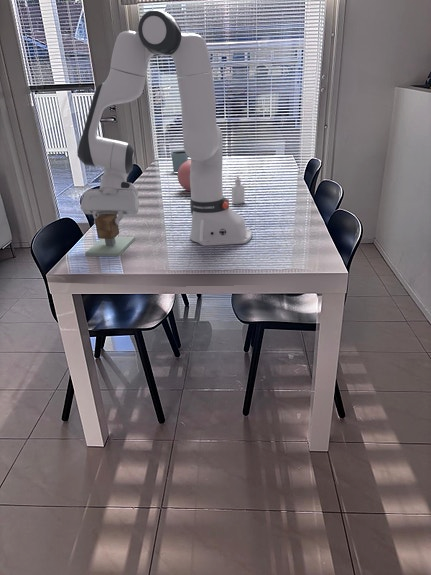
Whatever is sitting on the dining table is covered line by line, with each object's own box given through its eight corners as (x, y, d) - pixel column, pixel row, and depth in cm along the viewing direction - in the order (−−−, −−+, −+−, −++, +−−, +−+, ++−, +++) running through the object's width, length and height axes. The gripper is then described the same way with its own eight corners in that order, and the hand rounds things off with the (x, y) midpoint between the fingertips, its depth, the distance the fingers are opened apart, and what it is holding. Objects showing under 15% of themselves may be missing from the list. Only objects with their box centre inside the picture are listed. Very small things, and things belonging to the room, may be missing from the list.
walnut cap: (119, 233, 151) (116, 214, 148) (113, 238, 146) (110, 219, 143) (104, 233, 152) (101, 214, 149) (98, 238, 147) (94, 218, 144)
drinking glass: (174, 170, 267) (173, 150, 262) (190, 170, 266) (189, 150, 261) (171, 174, 258) (169, 153, 253) (187, 173, 257) (185, 153, 252)
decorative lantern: (179, 198, 206) (176, 165, 200) (178, 188, 224) (175, 158, 217) (211, 196, 207) (209, 163, 201) (207, 186, 225) (206, 156, 218)
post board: (135, 239, 157) (132, 222, 154) (119, 256, 143) (116, 237, 140) (104, 239, 159) (101, 222, 156) (85, 255, 145) (81, 237, 142)
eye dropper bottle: (232, 201, 196) (231, 175, 191) (244, 201, 196) (244, 175, 190) (231, 204, 192) (230, 177, 187) (244, 204, 192) (243, 177, 186)
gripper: (81, 184, 149) (73, 219, 145) (137, 184, 146) (131, 220, 142) (89, 193, 155) (82, 228, 151) (142, 193, 152) (137, 229, 147)
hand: (106, 224), depth 146 cm, fingers closed on walnut cap, 6 cm apart
